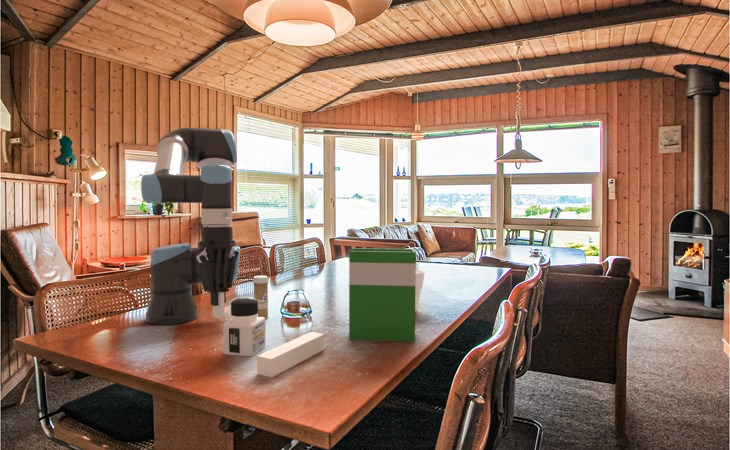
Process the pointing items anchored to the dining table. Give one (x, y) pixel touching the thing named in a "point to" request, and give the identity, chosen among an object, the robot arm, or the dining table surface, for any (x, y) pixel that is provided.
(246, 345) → the container
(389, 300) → the hardback book
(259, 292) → the sprinkles bottle
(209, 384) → the dining table surface
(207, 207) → the robot arm
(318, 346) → the white rectangular bar
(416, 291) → the cup
